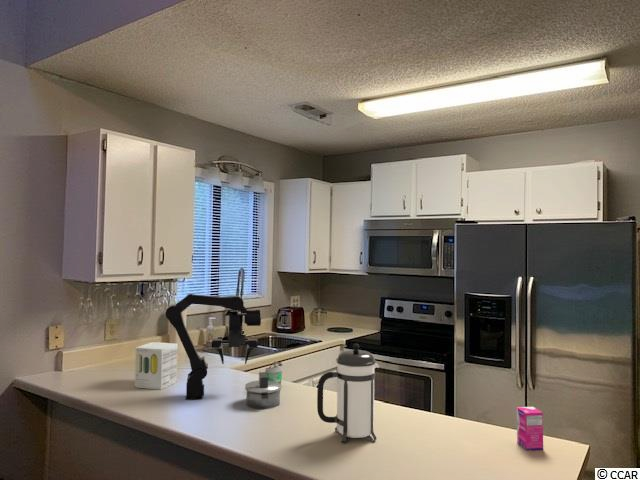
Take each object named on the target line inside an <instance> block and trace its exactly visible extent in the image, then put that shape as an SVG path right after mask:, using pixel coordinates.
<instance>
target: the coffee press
mask: <svg viewBox="0 0 640 480" xmlns="http://www.w3.org/2000/svg"><path fill="white" fill-rule="evenodd" d="M335 361H336V364H337V367H336V371H328V372H325V373H323V375H321V376H320V378H319V380H318V383H317V391H316V392H317V393H316V397H317V398H316V399H317V400H316V402H317V403H316V405H317V406H316V407H317V415H318V417H319V419H320V420H321V421H323V422H325V423H330V424H331V423H332V424H333V423H335V424H336V427H335V428H334V430H335V432H336V433H339V434H340V435H342V437H341V443H342V444H348V442H349V439H351V438H352V439H354V438H355V439H360V438H365V437H366V438H368V440H369V441H370V442H372V443H374V442H376V441H377V436H376V435H375V432H374V429H375V425H374V424H375V378H376V371H375V369H376V368H377V369H379V368H380V366H379V364H378V363H377V360H376V359H375V356H374V355H373V354H372V353H371V352H369V351H367V350H362V349H360V345H359V343H353V345H352V349H348V350H347V349H346V350H344V351H341V352H340V353H339V354H338V356H337V358H336V359H335ZM333 378H337V379H336V380H337V381H336V382H337V383H336V386H337V387H336V389H337V390H336V391H337V392H336V416H327V415H325V413H324V384H325V383H326V381H327V380H328V379H333ZM371 435H372V436H371Z"/></svg>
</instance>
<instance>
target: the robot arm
mask: <svg viewBox="0 0 640 480" xmlns="http://www.w3.org/2000/svg"><path fill="white" fill-rule="evenodd" d="M191 305H204V306H213V307H222V308H225V309H227V310H226V312H224V316H227V317H228V334H227V340H223V338H213V339H212V340H211V348H214V350H216V351H217V352H218V354H219V356H220V357H219V358H220V361H221V364H222V365H224V362H225V360H224V359H225V358H224V348H223V346H228V348H241V347H242V346H246V352H245V357H244V359H245V360H244V364H245V365H246V364H247V362H248V359H249V356H250V354H251V352H252V350H255V348H258V346H259V344H258V343H259V342H258V338H248V340H246V338H247V337H246V334H243V323H244V324H245V325H246V327H260V326H261V323H262V317H261V309H247V307H245V303H244V300H243V298H242V297H241V296H239V295H226V296H216V295H215V296H214V295H204V294H203V295H202V294H193V293H188V294H187V295H186V296H185V297H184V298H182V299H181V300H179V301H178V302H177V303H175V304H171V305H169V306H168V307H167V308H166V311H165V317H166V318H167V320H168V321H169V323H170V324H171V326H173V328H174V329H175V331H176V332H177V336H178V338H179V340H180V341H181V344H182V347H183V349H184V351H185V353H186V354H187V357H188V359H189V363H190V364H189V365H190V369H191V371H190V372H189V373H188V374H187V379H186V386H185V387H186V391H185V393H186V394H185V400H202V399H203V398H204V397H205V396H204V395H205V384H204V381H203V380H204V379H205V378H206V377H207V375H208V369H209V364H208V362H206V359H205V356H200V355H199V353H198V351H197V349H196V346H195V344H194V343H193V340H192V338H191V336H190V333H189V331H188V329H187V327H186V324H185V321H184V316H183V312H185V310H187V309H188V308H189V307H190V306H191ZM239 312H240V313H239Z"/></svg>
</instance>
